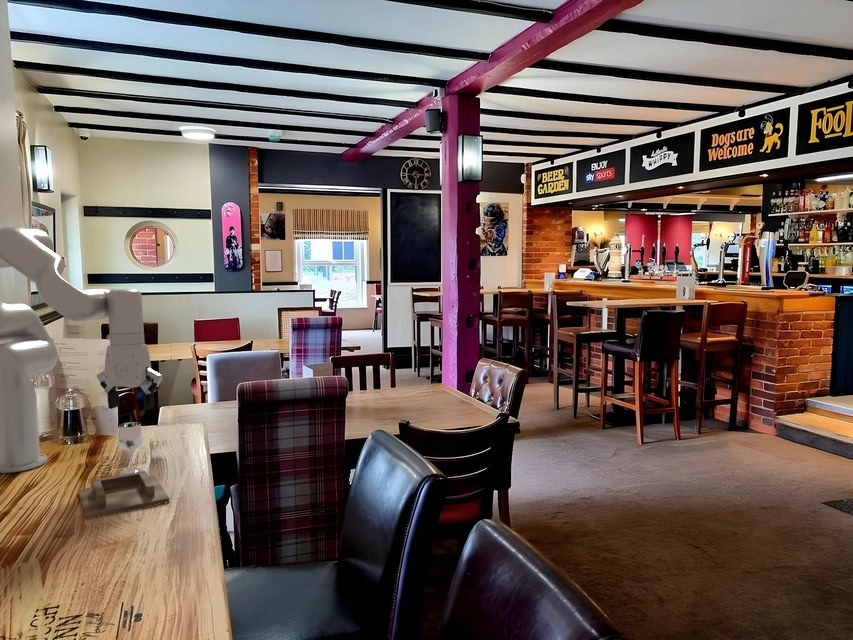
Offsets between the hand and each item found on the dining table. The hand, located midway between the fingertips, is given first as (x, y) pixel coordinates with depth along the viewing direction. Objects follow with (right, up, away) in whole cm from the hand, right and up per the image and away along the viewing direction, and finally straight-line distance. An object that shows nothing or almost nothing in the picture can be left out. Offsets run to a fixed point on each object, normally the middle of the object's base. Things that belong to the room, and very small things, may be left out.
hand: (131, 408), depth 147 cm
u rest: (+5, -18, -15) cm, 24 cm away
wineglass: (-1, -16, +2) cm, 16 cm away
